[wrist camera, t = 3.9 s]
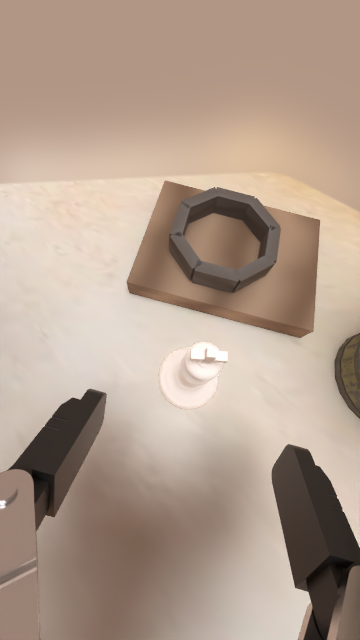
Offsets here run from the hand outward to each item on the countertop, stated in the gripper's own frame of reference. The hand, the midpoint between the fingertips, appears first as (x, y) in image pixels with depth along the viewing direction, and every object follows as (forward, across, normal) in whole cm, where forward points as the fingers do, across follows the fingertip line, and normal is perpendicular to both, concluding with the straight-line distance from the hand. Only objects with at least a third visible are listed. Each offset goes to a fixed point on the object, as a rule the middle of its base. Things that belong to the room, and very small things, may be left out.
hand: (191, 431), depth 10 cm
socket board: (+17, -1, -5) cm, 18 cm away
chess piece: (+9, 0, +4) cm, 10 cm away
